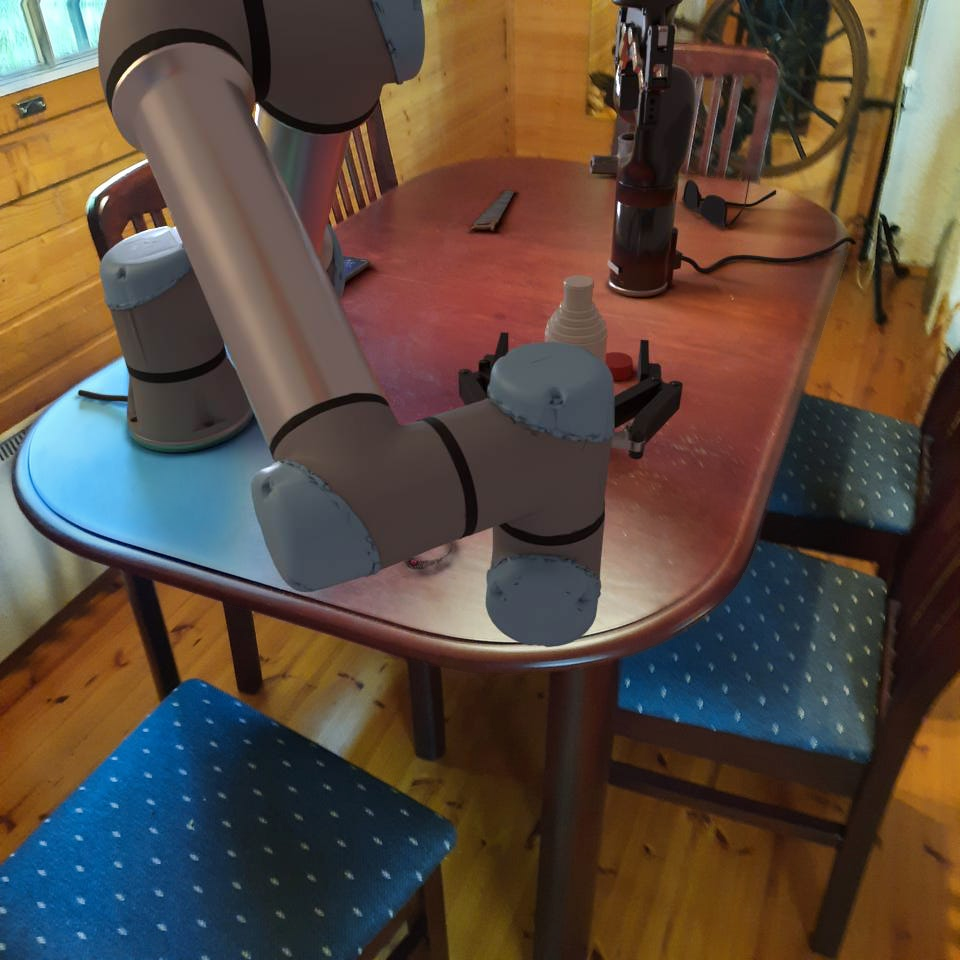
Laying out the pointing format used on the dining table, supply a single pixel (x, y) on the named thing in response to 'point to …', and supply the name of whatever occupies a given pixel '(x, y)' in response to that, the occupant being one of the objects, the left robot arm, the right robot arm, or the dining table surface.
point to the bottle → (578, 318)
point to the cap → (619, 365)
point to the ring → (414, 563)
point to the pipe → (610, 163)
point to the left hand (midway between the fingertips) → (573, 348)
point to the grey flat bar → (493, 213)
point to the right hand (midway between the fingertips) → (637, 119)
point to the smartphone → (354, 266)
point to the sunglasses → (714, 204)
